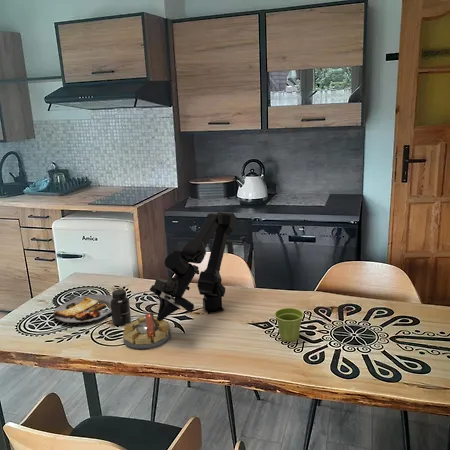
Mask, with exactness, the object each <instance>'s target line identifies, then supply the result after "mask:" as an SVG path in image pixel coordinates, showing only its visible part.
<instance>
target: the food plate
mask: <svg viewBox="0 0 450 450" xmlns="http://www.w3.org/2000/svg"><path fill="white" fill-rule="evenodd" d="M112 299H113V298H112V295H106V294H89V295H83V296H80V297H76V298H75V297H74V298H72V299H69V300H67V301H65V302H64V303H62V304H60V305H59V306H57V307H56V308H54V311H53V314H52V315H53V317H54V319H55V320H57V321H60V322H62V323H64V324H65V323H67V324H75V323H76V324H78V323H79V324H82V323H85V324H86V323H87V324H88V323H91V322H92V321H97V320H99V319H102V318H104V317H105V318H106V317H107V316H108V315H109V314H111V305H110V301H111V300H112ZM106 308H107V309H106Z"/></svg>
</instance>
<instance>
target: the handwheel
mask: <svg viewBox="0 0 450 450" xmlns="http://www.w3.org/2000/svg"><path fill="white" fill-rule="evenodd" d="M144 316H145V317H144ZM142 322H146V327H147V334H140V335H139V332H138V331H136V330H138V328H137V326H138V325H139V324H140V323H142ZM154 323H155V326H154ZM123 326H124V327H123V328H124V329H123V330H122V331H123V332H122V337H123V336H124V339H125V340H126V341H128V342H130V343H132V344H134V343H136V345H141V344H151V342H153V343H156V342H158V341H160V340H162V339H164V338H166V336H168V334H169V329H170V323H169V321H168V320H165V319H163V320H161V321H158V320H157V316H155V317H154V313H153V312H148V313H146V314H145V315H141V316H138V317H137V319H136V320H134V321H130V322H129V323H128V324H125V325H123ZM155 327H156V328H158V329H159V330H157V331H155ZM170 330H171V329H170ZM124 339H123V340H124Z"/></svg>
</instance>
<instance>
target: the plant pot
mask: <svg viewBox="0 0 450 450" xmlns="http://www.w3.org/2000/svg"><path fill="white" fill-rule="evenodd" d="M274 317H275V319H276V321H277V322H276V323H277V326H278V332H279V336H280V339H281V340H282V342H289V343H294V342H296V341H298V339H299V337H300V330H301V325H302V324H301V323H302V320H303V318H304V313H303V311H302V310H300V309H298V308H294V307H283V308H280V309H278V310H276V311H275V312H274Z"/></svg>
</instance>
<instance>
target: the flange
mask: <svg viewBox="0 0 450 450" xmlns="http://www.w3.org/2000/svg"><path fill="white" fill-rule="evenodd" d="M154 326H155V323H154ZM137 328H138V330H136V331H138V332H139V335H140V334H147V327H146V322H142V323H140V324H139V325H138V326H137ZM157 330H159V329H158V328H156V327H155V331H157ZM171 331H172V330H171V329H169V334H168V336H166V338H164V339H162V340H160V341H158V342H156V343H153V342H151V344H141V345H136V343H134V344H132V343H130V342H128V341H126V340H125V339H124V336H123V335H122V338H123V343H124V345H125V346H126V347H127V348H129V349H133V350H140V351H146V350H152V349H157V348H159V347H161V346H163V345H165V344H166V343H168V341H170V339H171V337H172V332H171Z"/></svg>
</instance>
